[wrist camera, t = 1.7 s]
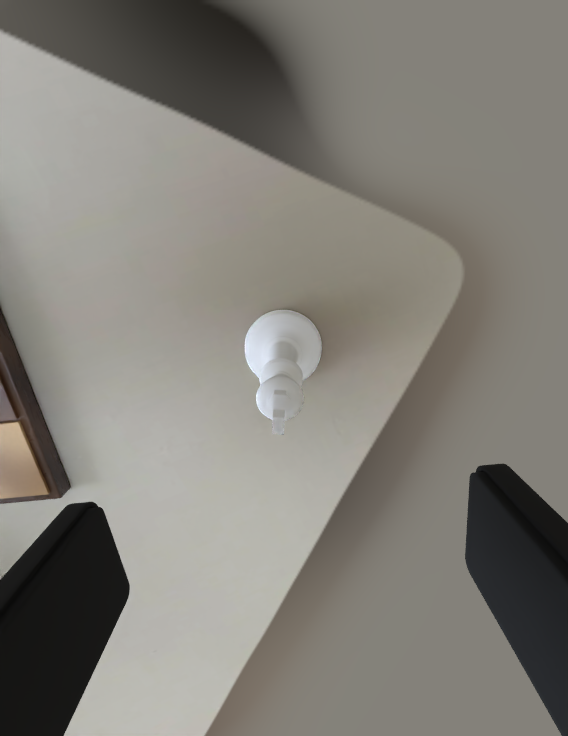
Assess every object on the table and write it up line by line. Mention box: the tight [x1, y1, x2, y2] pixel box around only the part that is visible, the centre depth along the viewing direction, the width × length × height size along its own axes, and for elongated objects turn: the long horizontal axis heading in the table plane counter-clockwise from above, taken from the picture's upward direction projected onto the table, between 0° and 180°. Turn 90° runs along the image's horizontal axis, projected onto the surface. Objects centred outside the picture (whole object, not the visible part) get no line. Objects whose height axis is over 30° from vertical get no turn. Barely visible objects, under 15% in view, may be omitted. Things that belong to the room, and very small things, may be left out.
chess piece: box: [245, 310, 322, 435], centre depth 17 cm, size 5×5×10 cm
